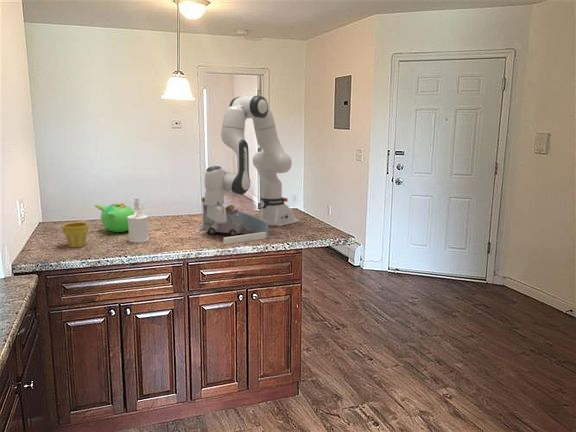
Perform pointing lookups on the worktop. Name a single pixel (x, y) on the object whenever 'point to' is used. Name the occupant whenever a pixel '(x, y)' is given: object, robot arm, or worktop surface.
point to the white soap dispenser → (138, 225)
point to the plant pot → (75, 233)
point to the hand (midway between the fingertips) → (215, 228)
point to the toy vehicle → (230, 226)
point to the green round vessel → (115, 216)
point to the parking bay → (251, 224)
